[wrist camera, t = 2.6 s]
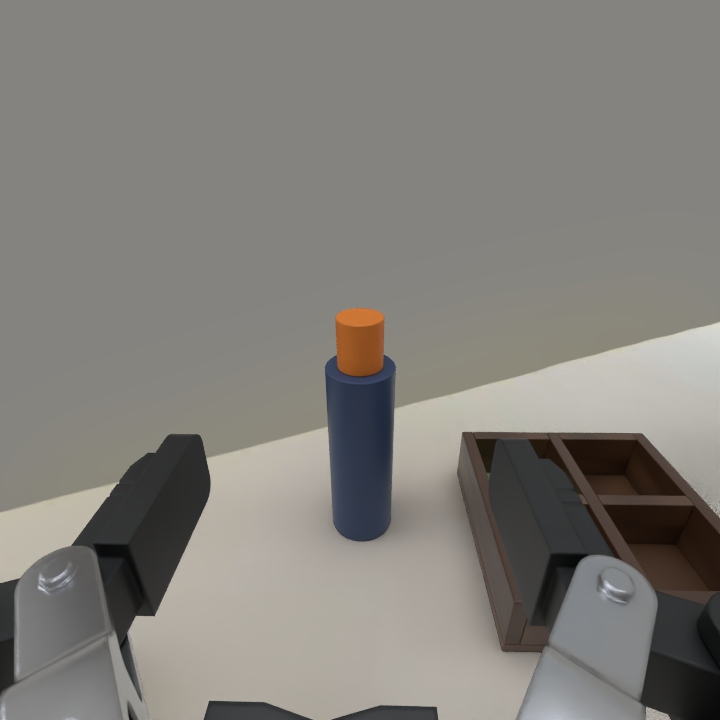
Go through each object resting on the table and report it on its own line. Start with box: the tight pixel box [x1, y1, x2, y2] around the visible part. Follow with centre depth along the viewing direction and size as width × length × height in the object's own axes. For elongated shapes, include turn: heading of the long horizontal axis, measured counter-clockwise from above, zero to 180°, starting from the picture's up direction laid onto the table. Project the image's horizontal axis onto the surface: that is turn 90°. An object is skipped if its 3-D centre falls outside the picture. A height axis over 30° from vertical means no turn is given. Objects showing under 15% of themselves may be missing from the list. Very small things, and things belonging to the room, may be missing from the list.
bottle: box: [325, 308, 396, 541], centre depth 26 cm, size 4×4×15 cm
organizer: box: [457, 432, 720, 652], centre depth 27 cm, size 13×13×4 cm
